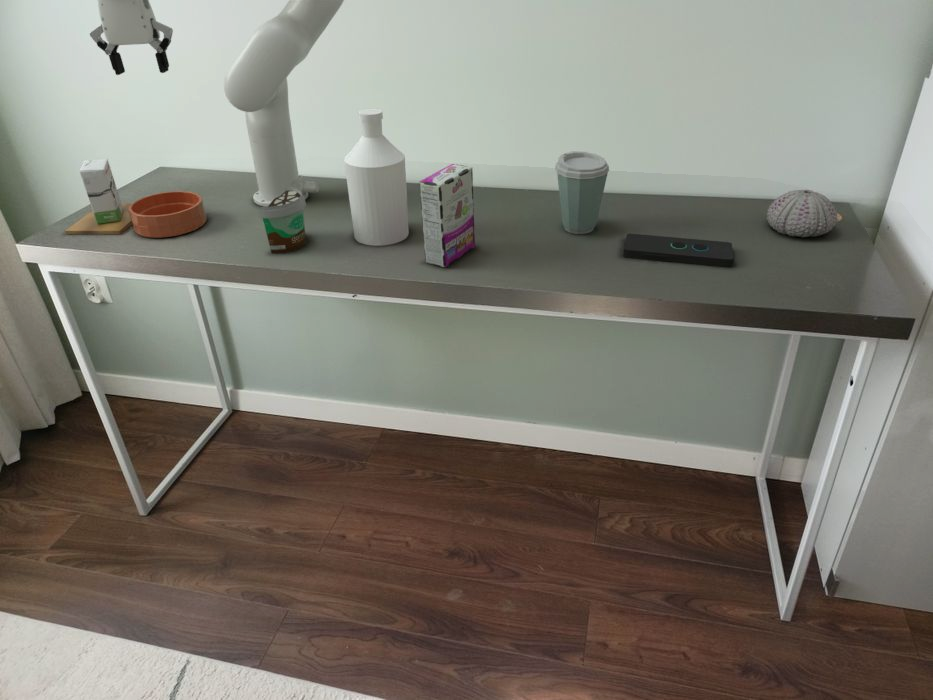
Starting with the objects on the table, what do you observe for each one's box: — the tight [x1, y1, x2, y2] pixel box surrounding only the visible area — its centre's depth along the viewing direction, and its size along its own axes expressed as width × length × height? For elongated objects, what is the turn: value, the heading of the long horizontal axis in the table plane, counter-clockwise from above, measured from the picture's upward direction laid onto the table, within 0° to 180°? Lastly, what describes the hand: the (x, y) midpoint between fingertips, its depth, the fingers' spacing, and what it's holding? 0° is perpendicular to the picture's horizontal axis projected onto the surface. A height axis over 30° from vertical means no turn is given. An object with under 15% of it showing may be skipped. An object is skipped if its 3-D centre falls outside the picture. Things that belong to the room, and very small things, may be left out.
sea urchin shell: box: [766, 189, 838, 238], centre depth 141 cm, size 13×14×8 cm
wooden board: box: [64, 202, 133, 235], centre depth 155 cm, size 12×16×1 cm
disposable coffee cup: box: [554, 151, 610, 235], centre depth 142 cm, size 11×11×15 cm
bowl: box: [128, 190, 208, 239], centre depth 151 cm, size 15×15×5 cm
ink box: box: [79, 158, 123, 224], centre depth 152 cm, size 9×5×12 cm, turn 19°
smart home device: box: [622, 233, 734, 268], centre depth 134 cm, size 8×2×20 cm
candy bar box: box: [418, 163, 476, 268], centre depth 132 cm, size 11×5×16 cm, turn 148°
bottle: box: [343, 108, 410, 247], centre depth 139 cm, size 12×12×25 cm
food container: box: [259, 187, 307, 254], centre depth 140 cm, size 12×6×10 cm, turn 168°
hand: (142, 72), depth 151 cm, fingers open, 9 cm apart
